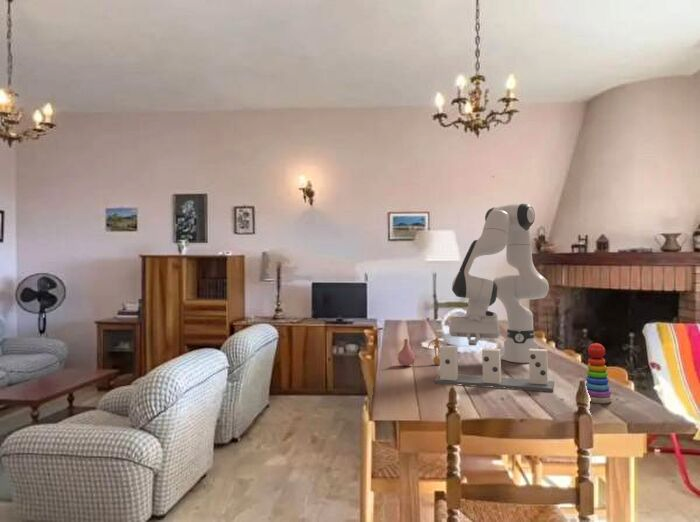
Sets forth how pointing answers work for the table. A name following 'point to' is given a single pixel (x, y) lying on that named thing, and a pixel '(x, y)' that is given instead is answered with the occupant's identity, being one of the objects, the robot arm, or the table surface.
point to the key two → (491, 365)
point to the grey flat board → (505, 383)
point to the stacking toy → (597, 375)
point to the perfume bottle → (406, 355)
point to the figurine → (436, 358)
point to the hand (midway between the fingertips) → (472, 344)
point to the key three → (538, 366)
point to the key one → (448, 363)
